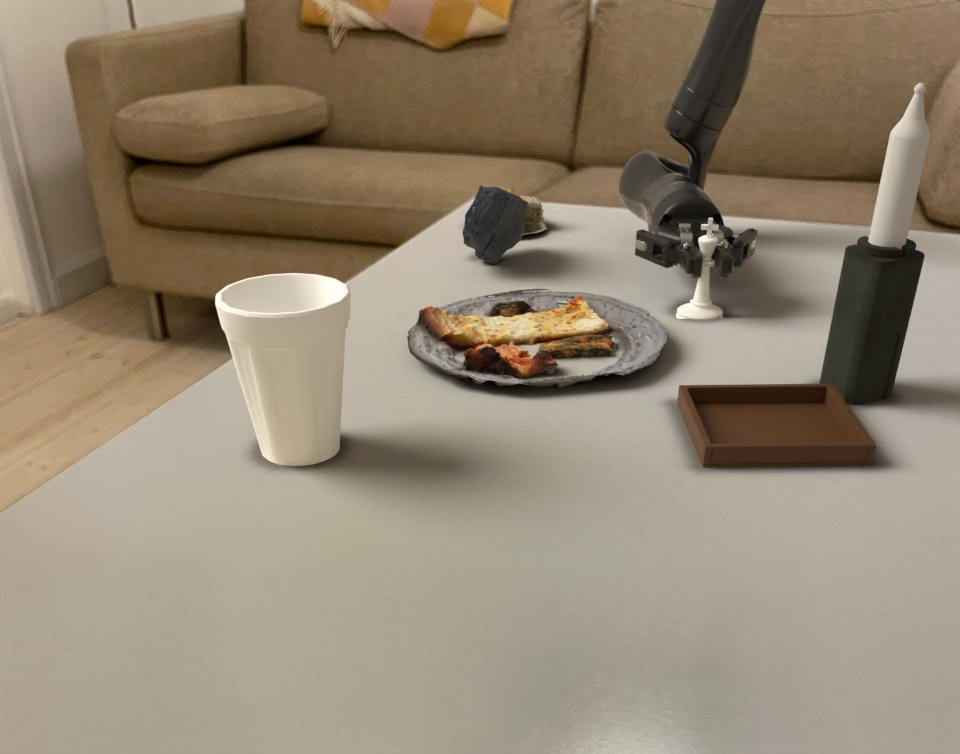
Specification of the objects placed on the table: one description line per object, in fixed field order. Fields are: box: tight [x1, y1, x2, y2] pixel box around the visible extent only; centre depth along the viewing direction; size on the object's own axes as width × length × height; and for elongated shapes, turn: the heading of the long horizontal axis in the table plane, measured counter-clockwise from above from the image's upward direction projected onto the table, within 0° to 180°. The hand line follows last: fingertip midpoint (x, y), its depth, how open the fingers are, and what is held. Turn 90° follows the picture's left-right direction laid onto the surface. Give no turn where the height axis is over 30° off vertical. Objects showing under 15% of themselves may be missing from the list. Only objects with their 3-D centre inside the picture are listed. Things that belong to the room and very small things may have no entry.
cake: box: [507, 187, 548, 236], centre depth 137 cm, size 10×10×5 cm
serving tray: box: [676, 383, 877, 468], centre depth 85 cm, size 13×12×2 cm
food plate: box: [406, 288, 668, 388], centre depth 101 cm, size 25×23×4 cm
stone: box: [461, 184, 528, 265], centre depth 124 cm, size 14×6×10 cm, turn 170°
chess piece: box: [675, 218, 724, 321], centre depth 107 cm, size 5×5×10 cm
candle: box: [818, 82, 931, 406], centre depth 86 cm, size 5×5×25 cm
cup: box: [214, 272, 352, 467], centre depth 81 cm, size 10×10×13 cm
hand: (711, 267), depth 104 cm, fingers closed on chess piece
